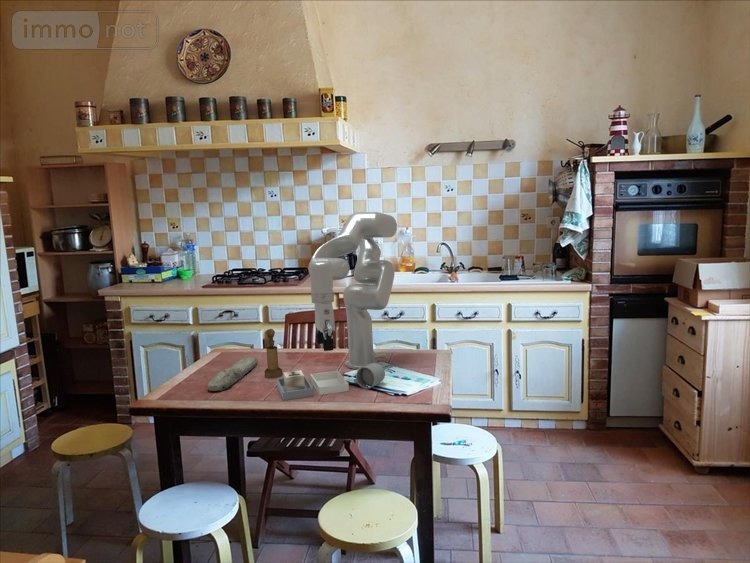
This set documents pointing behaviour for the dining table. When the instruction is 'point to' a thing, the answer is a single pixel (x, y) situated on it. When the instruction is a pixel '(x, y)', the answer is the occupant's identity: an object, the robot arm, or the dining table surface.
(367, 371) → the ceramic mug
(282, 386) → the tray
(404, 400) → the dining table surface
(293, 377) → the letter cube
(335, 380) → the tray
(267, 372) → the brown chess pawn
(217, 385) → the long grey stone
